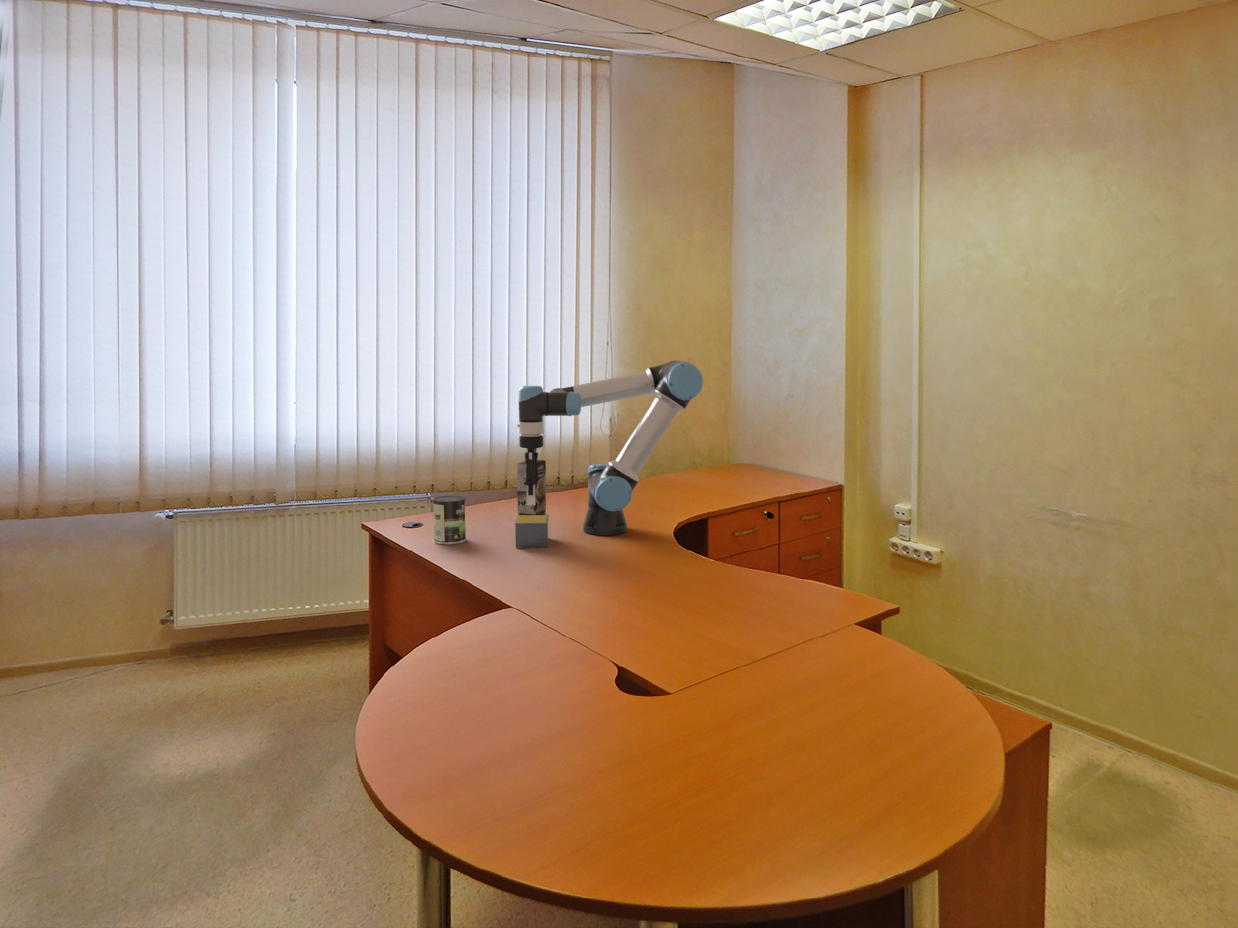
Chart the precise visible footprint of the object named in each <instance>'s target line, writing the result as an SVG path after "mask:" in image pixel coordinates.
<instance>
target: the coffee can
mask: <svg viewBox="0 0 1238 928" xmlns="http://www.w3.org/2000/svg"><path fill="white" fill-rule="evenodd" d="M432 506H433V507H432V509H433V511H432V513H433V535H434V536H433V537H434V541H433V542H434V543H435V544H438V545H458V544H461V543H464V542H466V541H467V539H466V538H467V537H466V535H467V534H466V497H464V496H461V495H441V496H436V497H434V498H432Z"/></svg>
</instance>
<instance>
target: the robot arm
mask: <svg viewBox="0 0 1238 928" xmlns="http://www.w3.org/2000/svg"><path fill="white" fill-rule="evenodd" d="M703 385H704V377H703V374H702V371H700V369H699V368H698V367H697V366H696V365H695V364H693V363H691V362H689V361H684V360H683V361H681V360H671V361H668V362H665V363H662V364H658V365H656V366H651V367H647V368H646V369H645V370H644V371H641V372H636V373H632V374H626V375H622V376H621V375H620V376H616V377H611V378H607V379H602V380H597V381H592V382H591V381H590V382H587V383H581V384H577V385H572V386H566V387H561V388H560V387H556V388H553V389H552V390H550V391H549V392H548V391H544V390H543V386H541V385H523V386H520V387H519V389H518V421H519V423H518V424H517V425H516V426H517V428H519V435H520V436H519V439H518V440H519V443H518V444H519V447H520V448H521V449H527V452H525V453H524V458H525V461H526V482H524V485H526V499H527V505H535V469H534V464H537V460H539V459H538V458H539V453H538V452H537V449H540V448H543V447H544V436H543V434H544V419H543V418H544V417H550V416H551V417H552V416H553V417H563V416H564V417H565V416H566V417H571V416H579V415H580V414H581V410H582V408H584V407H588V406H589V407H590V406H595V405H600V404H604V403H609V402H614V401H620V400H624V399H630V398H635V397H640V396H645V395H651V396H652V397H654V398H653V400H652V402H651V403H650V405H649V406H648V408H647V409H646V411H645V413H644V414H643V416H642V417H641V419H640V421H639V422H638V424H637V425H636V427H634V428H635V429H633V432H632V433H631V434H630V436H629V438H628V440H627V441H626V443H625V444H624V445H623V447H622V449H621V450H620V452H619V453H618V455H617V456H616V459H615V460H612V461H611V460H610V461H608V462H607V463H605V464H604V463H602V464H599V463H598V464H597V463H596V464H591V465H589V466H588V468H587V469H588V470H587V480H588V481H587V482H588V483H587V485H588V486H587V500H588V501H587V502H588V504H587V505H588V506H587V512H586V513H585V518H584V521H583V523H582V531H583V532H584V533H585V534H588V535H595V536H615V535H616V536H617V535H621V534H625V533H626V532H628V521H627V520H626V516H625V513H624V511H623V509H625V508H626V507H627V506H628V505H629V503H630V502H631V501H632V497H633V491H634V489H635V488H636V486H637V485H638V484H639V481H640V480H639V476H638V475H639V473H640V471H641V470H642V468H643V467H644V466H645V463H646V462H647V461H648V459H649V458H650V456H651V454H652V452H654V450H655V448H656V446H657V444H658V443H659V441H660V440H661V439H662V437H663V435H664V434H665V432H666V431H667V429H668V428H669V426H670V424H671V423H672V421H673V420H674V418H675V416H676V415H677V413H679V412H681V411H685V409H686V408H687V406H688V405H689V403H690V401H691V400H692V399H694V398H696V397H697V396H698V395H699V394H700V393H701V391H702V388H703Z"/></svg>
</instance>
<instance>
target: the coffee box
mask: <svg viewBox="0 0 1238 928" xmlns="http://www.w3.org/2000/svg"><path fill="white" fill-rule="evenodd" d="M546 462H547V460H542V459H537V464H534V469H535V505H527V499H526V485H524V482H526V460H524V461H521V462H518V463H517V464H516V470H517V471H516V472H517V473H516V476H517V479H516V485H517V486H516V489H517V490H516V492H517V494H516V495H517V498H516V499H517V500H516V501H517V503H516V504H517V507H516V509H517V512H516V514H517V513H523V514H533V515H534V514H537V513H539V512H541V511H543V510H545V509H546V507H547V486H546V485H547V482H546V481H547V480H546V479H547V476H546V474H547V473H546V472H547V470H546V469H547V467H546V465H547V463H546Z"/></svg>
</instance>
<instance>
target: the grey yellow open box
mask: <svg viewBox="0 0 1238 928" xmlns="http://www.w3.org/2000/svg"><path fill="white" fill-rule="evenodd" d="M549 522H550V519H549V514H548V506H546V509H545V510H543V511H541V512H539V513H537V514H534V515H533V514H523V513H517V512H516V520H515V524H514V526H515V527H514V529H515V530H514V531H515V549H548V545H549V539H550V538H549V537H550V533H549V532H550V530H549V529H550V527H549Z"/></svg>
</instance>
